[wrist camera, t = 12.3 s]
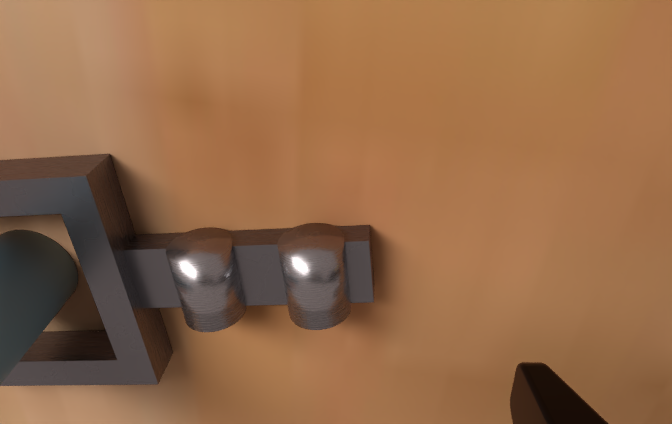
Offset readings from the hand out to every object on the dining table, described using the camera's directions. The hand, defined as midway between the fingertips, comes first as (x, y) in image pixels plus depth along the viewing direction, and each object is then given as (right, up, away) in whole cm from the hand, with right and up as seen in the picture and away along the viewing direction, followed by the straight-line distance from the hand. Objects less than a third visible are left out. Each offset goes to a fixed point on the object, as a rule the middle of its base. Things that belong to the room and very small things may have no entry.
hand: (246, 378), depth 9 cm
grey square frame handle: (-12, 0, +16) cm, 20 cm away
